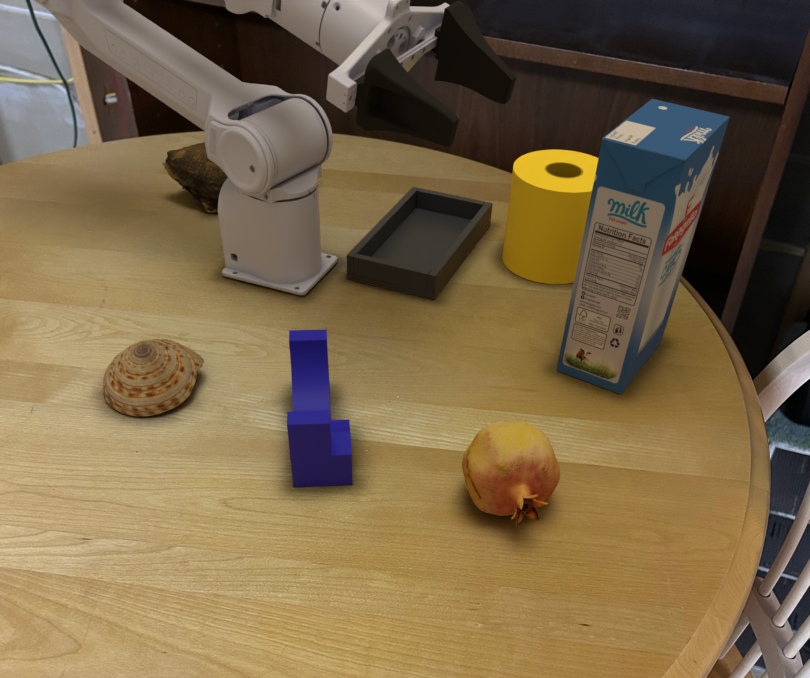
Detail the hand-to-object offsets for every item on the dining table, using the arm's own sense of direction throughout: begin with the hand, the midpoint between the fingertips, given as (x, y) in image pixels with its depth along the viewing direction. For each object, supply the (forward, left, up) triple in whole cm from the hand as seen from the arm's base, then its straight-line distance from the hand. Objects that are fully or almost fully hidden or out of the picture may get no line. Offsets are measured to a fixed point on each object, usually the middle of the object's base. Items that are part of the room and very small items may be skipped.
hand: (483, 111), depth 60 cm
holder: (-10, +15, -20) cm, 27 cm away
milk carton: (+13, +4, -20) cm, 24 cm away
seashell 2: (-34, +18, -20) cm, 43 cm away
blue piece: (-6, -17, -20) cm, 27 cm away
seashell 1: (-22, -17, -20) cm, 35 cm away
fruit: (+10, -18, -20) cm, 29 cm away
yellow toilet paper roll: (+3, +19, -20) cm, 28 cm away
